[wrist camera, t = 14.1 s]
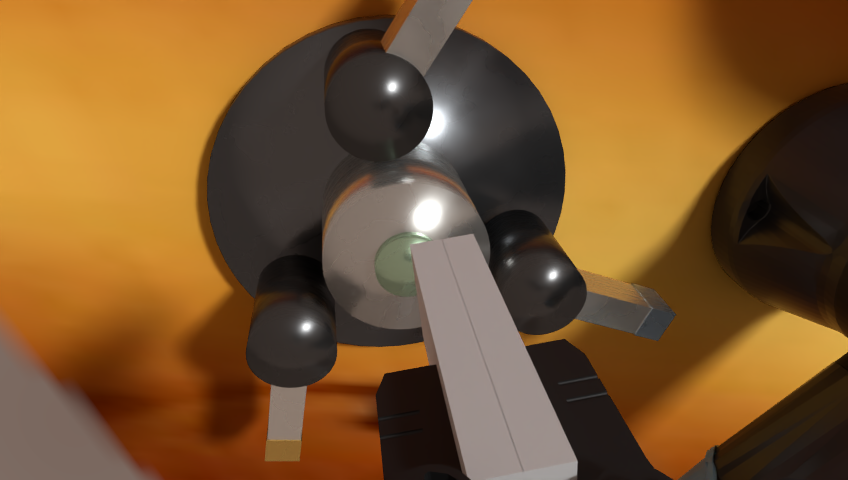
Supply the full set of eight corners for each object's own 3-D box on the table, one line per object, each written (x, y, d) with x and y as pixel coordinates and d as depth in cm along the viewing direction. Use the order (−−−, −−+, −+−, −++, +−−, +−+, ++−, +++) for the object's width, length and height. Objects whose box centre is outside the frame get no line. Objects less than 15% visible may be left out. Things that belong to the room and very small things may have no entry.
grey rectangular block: (383, 134, 30) (396, 179, 25) (307, 90, 29) (304, 128, 23) (500, -51, 27) (544, -42, 22) (422, -114, 25) (448, -120, 20)
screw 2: (464, 264, 35) (489, 325, 30) (494, 200, 33) (526, 253, 28) (605, 301, 38) (650, 362, 33) (640, 245, 36) (693, 301, 31)
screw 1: (259, 251, 32) (247, 316, 27) (338, 257, 33) (341, 320, 28) (252, 390, 37) (240, 467, 32) (321, 392, 38) (321, 467, 33)
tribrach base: (419, -79, 27) (451, -76, 20) (616, 206, 36) (682, 273, 30) (129, 186, 31) (76, 262, 24) (373, 382, 40) (384, 476, 34)
